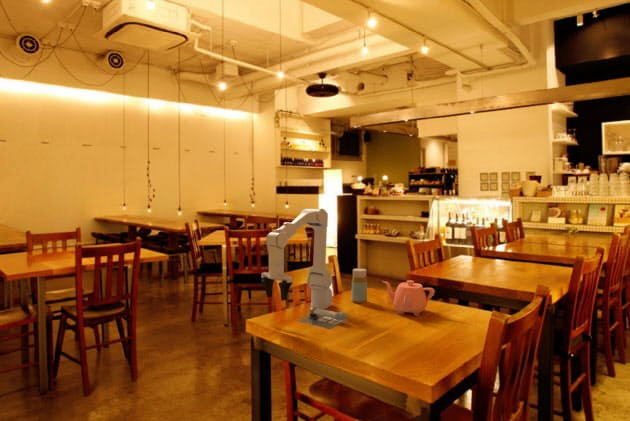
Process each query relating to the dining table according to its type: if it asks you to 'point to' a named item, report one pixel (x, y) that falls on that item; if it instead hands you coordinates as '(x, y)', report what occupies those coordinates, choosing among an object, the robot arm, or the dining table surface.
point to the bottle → (359, 286)
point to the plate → (314, 321)
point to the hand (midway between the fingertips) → (276, 298)
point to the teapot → (409, 297)
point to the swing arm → (326, 313)
